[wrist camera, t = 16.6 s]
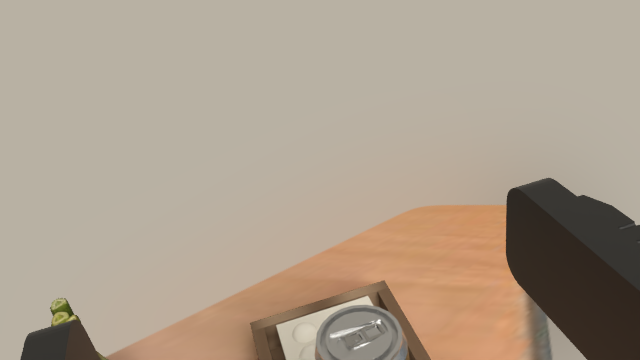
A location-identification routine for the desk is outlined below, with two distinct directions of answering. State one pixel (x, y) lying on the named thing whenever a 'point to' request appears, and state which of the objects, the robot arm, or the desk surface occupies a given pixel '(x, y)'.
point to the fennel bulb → (64, 314)
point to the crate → (377, 293)
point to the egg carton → (308, 331)
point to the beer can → (361, 335)
